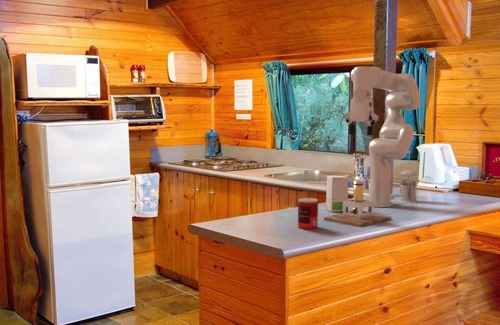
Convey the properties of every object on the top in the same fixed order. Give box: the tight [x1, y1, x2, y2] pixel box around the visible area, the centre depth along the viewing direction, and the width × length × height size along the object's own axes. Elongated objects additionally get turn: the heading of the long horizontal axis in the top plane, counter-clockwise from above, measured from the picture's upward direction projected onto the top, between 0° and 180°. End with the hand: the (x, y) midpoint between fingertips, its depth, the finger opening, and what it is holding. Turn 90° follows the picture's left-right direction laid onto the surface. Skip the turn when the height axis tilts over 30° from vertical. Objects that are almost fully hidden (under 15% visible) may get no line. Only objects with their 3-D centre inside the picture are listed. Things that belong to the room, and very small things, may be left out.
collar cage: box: [342, 198, 375, 220], centre depth 249 cm, size 9×9×7 cm
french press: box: [397, 150, 419, 204], centre depth 295 cm, size 10×12×25 cm
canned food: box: [297, 197, 319, 230], centre depth 233 cm, size 8×8×11 cm
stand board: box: [323, 212, 392, 228], centre depth 250 cm, size 22×18×1 cm
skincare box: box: [325, 175, 350, 213], centre depth 269 cm, size 8×7×16 cm
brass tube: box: [352, 179, 365, 214], centre depth 249 cm, size 4×4×15 cm
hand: (360, 134), depth 263 cm, fingers open, 9 cm apart
